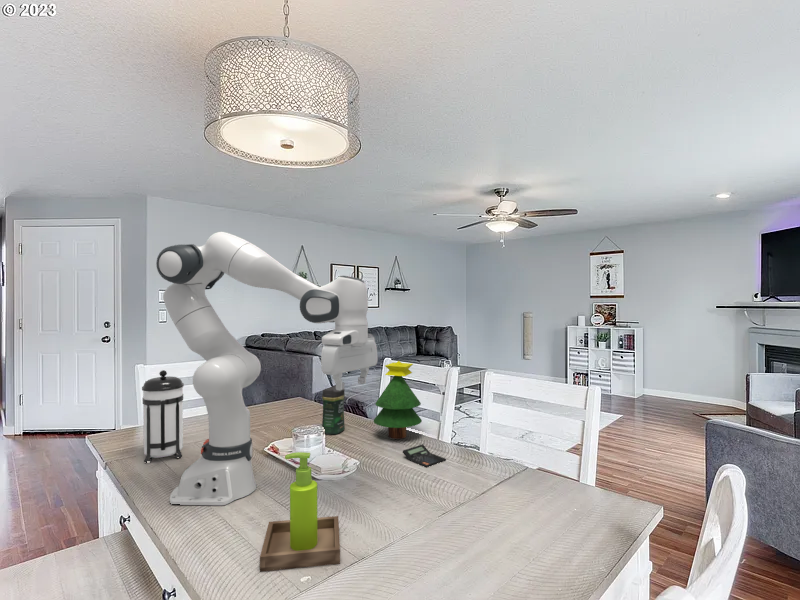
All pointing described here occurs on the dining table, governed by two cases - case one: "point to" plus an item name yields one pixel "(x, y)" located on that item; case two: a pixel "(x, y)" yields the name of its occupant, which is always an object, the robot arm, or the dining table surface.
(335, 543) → the holder tray
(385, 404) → the decorative tree
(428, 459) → the calculator
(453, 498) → the dining table surface
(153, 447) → the coffee press
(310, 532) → the soap dispenser
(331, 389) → the coffee jar
